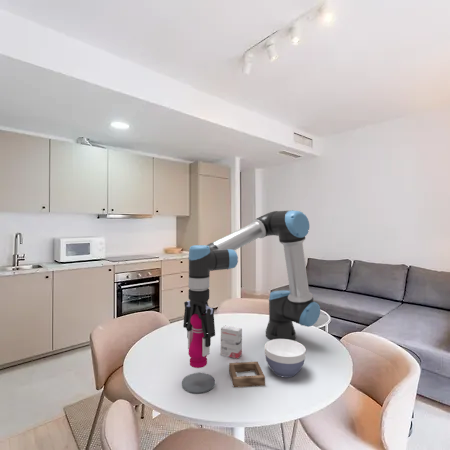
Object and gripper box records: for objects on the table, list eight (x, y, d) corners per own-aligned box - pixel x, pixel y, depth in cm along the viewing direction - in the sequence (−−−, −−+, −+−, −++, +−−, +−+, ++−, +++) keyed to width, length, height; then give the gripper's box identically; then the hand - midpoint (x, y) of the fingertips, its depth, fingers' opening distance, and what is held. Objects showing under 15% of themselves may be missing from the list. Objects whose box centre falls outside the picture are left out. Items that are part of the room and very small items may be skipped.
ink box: (242, 354, 128) (242, 327, 128) (238, 359, 123) (238, 331, 123) (224, 350, 132) (224, 324, 131) (219, 355, 127) (220, 328, 127)
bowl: (298, 387, 103) (298, 360, 103) (257, 374, 111) (257, 349, 111) (310, 367, 117) (310, 344, 116) (273, 357, 125) (273, 335, 125)
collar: (257, 368, 115) (257, 361, 115) (265, 385, 104) (265, 377, 104) (229, 370, 114) (229, 363, 114) (233, 387, 103) (233, 379, 103)
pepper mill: (193, 370, 100) (193, 313, 99) (185, 361, 106) (185, 307, 106) (211, 365, 103) (212, 310, 103) (203, 357, 110) (203, 304, 109)
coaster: (213, 373, 112) (213, 371, 112) (216, 392, 100) (216, 390, 100) (182, 375, 110) (182, 373, 110) (181, 394, 98) (181, 392, 98)
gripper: (226, 291, 100) (225, 357, 100) (189, 282, 114) (188, 340, 114) (210, 295, 95) (210, 364, 95) (173, 285, 108) (173, 346, 109)
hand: (198, 351), depth 105 cm, fingers closed on pepper mill, 7 cm apart
